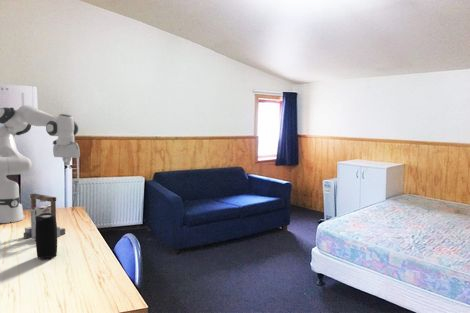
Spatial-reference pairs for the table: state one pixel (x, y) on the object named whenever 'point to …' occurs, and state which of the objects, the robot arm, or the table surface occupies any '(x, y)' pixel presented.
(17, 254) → the table surface
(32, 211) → the candy bar box
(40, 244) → the portable speaker
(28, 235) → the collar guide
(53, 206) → the aperture gantry
